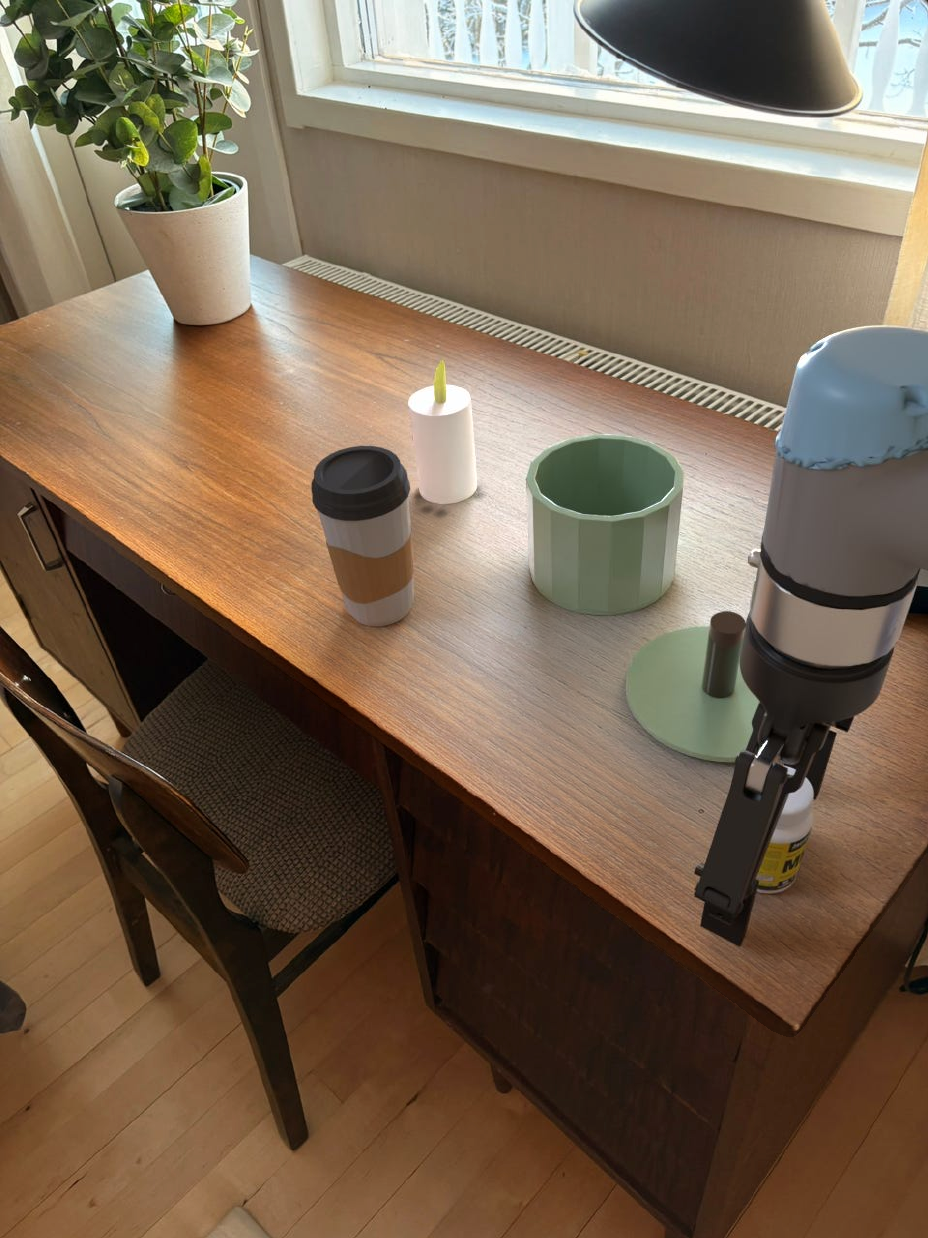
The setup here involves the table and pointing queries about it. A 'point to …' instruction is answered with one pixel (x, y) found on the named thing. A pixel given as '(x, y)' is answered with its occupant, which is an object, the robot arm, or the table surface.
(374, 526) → the coffee cup
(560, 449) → the pot
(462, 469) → the candle
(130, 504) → the table surface
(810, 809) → the supplement bottle
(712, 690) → the lid
